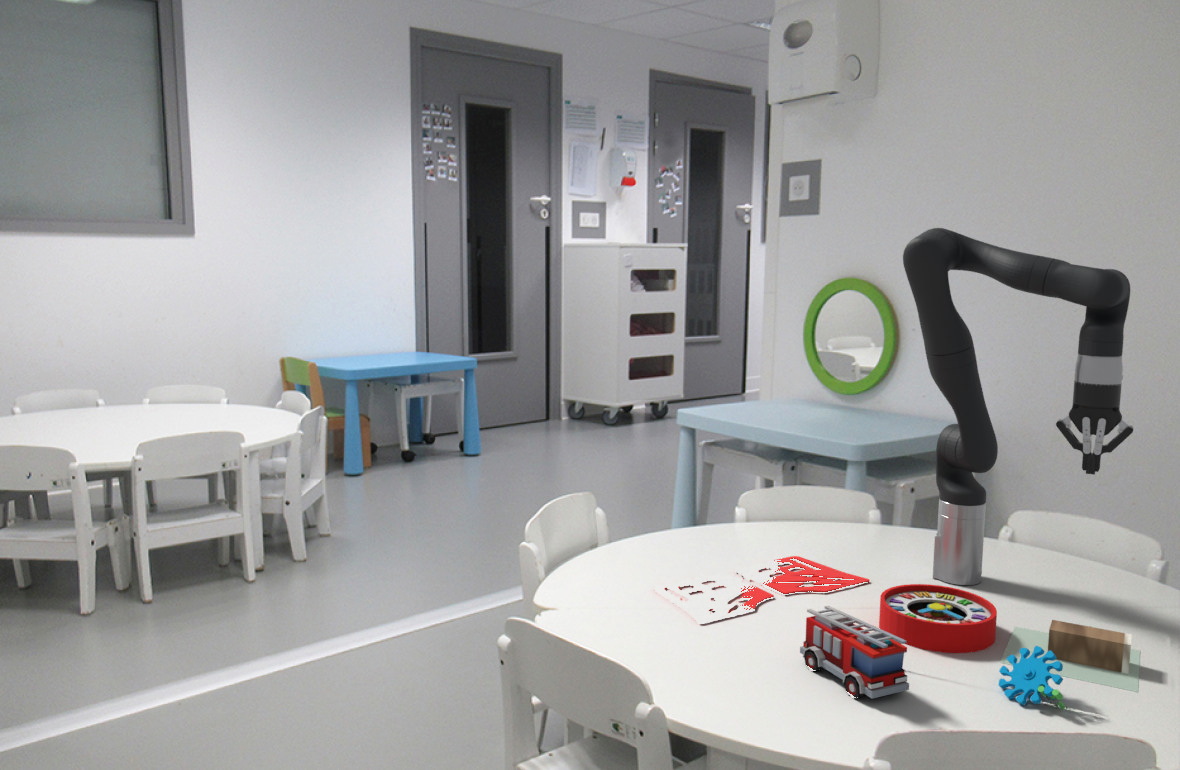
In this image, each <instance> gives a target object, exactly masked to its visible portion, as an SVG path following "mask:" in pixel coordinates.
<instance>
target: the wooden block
mask: <svg viewBox="0 0 1180 770" xmlns="http://www.w3.org/2000/svg"><path fill="white" fill-rule="evenodd" d="M1048 630H1049V631H1048V633H1049V640H1048V651H1050V650H1051V651H1052V652H1053V653H1054V654H1055V656H1056V659H1058V660H1063V661H1068V662H1072V663H1077V664H1082V665H1087V666H1092V667H1097V668H1101V669H1106V670H1111V671H1116V672H1121V673H1126V674H1129V662H1130V651H1131V649H1132V637H1133V634H1130V633H1125V632H1121V631H1115V630H1109V629H1104V628H1098V627H1094V626H1090V625H1089V626H1088V625H1083V624H1077V623H1072V622H1067V621H1061V620H1056V619H1051V623H1050V626H1049V629H1048Z"/></svg>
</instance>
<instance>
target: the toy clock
mask: <svg viewBox="0 0 1180 770" xmlns="http://www.w3.org/2000/svg"><path fill="white" fill-rule="evenodd" d="M997 613H998V611H997V608H996V606H995V605H994V604H993V603H992V602H991V601H989V600H988V599H986V598H984V597H982V596H980V595H978V594H976V593H973V592H970V591H967V590H963V589H959V588H956V587H951V586H946V585H945V586H943V585H939V584H937V585H936V584H925V583H914V584H913V583H910V584H901V585H896V586H895V585H894V586H892V587H889V588H887V589H885V590H883V592H881V594H880V599H879V619H878V620H879V621H878V623H879V624H878V628H880V629H881V630H884V631H886V632H888V633H890V634H892V635H895V636H897V637H899V638H901V639H904V640H906V643H905V644H904V645H905V646H906V645H907V646H910V647H912V648H913V647H914V648H916V649H921V650H926V651H929V652H937V653H943V654H944V653H945V654H969V653H976V652H980V651H984V650H986V649H988V648H990V647H992V646H993V645H994V643H995V641H996V636H997V635H996V633H997V631H996V630H997V615H998V614H997ZM894 641H895V640H894ZM896 642H897V641H896ZM898 643H899V642H898ZM900 644H901V643H900Z"/></svg>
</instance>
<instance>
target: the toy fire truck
mask: <svg viewBox="0 0 1180 770" xmlns="http://www.w3.org/2000/svg"><path fill="white" fill-rule="evenodd" d="M806 613H809V614H810V615H813V616H807V617H806V619H805V622H806V623H805V640H804V641H803V646H800V647H799V653H800V654H802V658H804V663H805V666H806V665H807V666H809V667H810V668H812V669H813V670H819V669H820V670H821V669H822V668H823V669H824V670H827V671H828V672H830V674H833V675H834V676H835V677H837V678H839V679H840V680H842V684H844V690H845V692H846V691H847V692H849V693H850V694H852V695H853V696H854V697H856V698H857V697H861V698H862V697H863V696H864V695H866V696H867V697H869V698H870V699H877V698H880V697H884V696H888V695H892V694H896V693H901V692H905V691H909V690H910V683H909V682H908V675H907V674H906V671H905V669H904V668H903V665H904V658H905V657H904V656H905V654H906V653H907V652H908V647H907V646H906V644H905V643H906V640H904V639H901V638H899V637H897V636H895V635H892V634H890V633H888V632H886V631H884V630H881V629H879V627H877V626H875V625H872V624H870V623H868V622H865V621H864V620H861V619H859V618H857V617H854V616H852V615H850V614H848V613H846V612H844V611H841V610H839V609H837V608H835V607H832V606H830V605H825V606H824V608H823V609H822V610H815V609H812V608H809V609H806ZM863 627H864V628H863ZM894 640H895V641H894ZM896 641H897V642H896ZM898 642H899V643H898ZM900 643H901V644H900ZM807 666H806V667H807ZM820 670H819V671H820ZM847 692H846V693H847ZM857 699H858V698H857Z"/></svg>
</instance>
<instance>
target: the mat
mask: <svg viewBox="0 0 1180 770" xmlns="http://www.w3.org/2000/svg"><path fill="white" fill-rule="evenodd" d="M1010 634H1011V635H1010V637H1009V639H1008V642H1007V645H1006V646H1005V649H1004V652H1003V655H1002V658H1001V659H1000V662H999V663H1000V664H1003V665H1009V666H1012V667H1013V665H1012V664H1011V663H1010V662H1009V661H1008V660H1007V657H1008V656H1010V655H1014V656H1015V657H1016V658H1017V663H1019V661H1020V659H1021V654H1020V648H1027V649H1028V650H1029V651H1030V654H1029V656H1028V657H1027V658H1029V657H1030V656H1031V655H1032V653H1033V651H1034V647H1035V646H1039V647H1041V648H1042V649H1043V650H1044V651H1045V652H1044V654H1043V655H1040V656H1038V657H1037V658H1040V657H1042V656H1044V655H1045V654H1046V653H1047V652H1048V640H1049V632H1045V631H1040V630H1036V629H1030V628H1025V627H1019V626H1014V627H1013V629H1012V632H1011V633H1010ZM1027 658H1026V659H1027ZM1140 660H1141V650H1138V649H1133V648H1131V651H1130V662H1129V674H1126V673H1121V672H1116V671H1111V670H1106V669H1101V668H1097V667H1092V666H1087V665H1082V664H1077V663H1072V662H1068V661H1063V660H1058V659H1055V660H1054V661H1051V660H1048V661H1046V662H1045V663H1054V662H1056V661H1060V662H1061V663H1062V664H1063V669H1062V671H1057V670H1055V669H1051V670H1050V671H1049V672H1050V673H1051V674H1058V675H1060V676H1061V677H1065V678H1069V679H1074V680H1079V681H1083V682H1088V683H1092V684H1096V685H1101V686H1107V687H1111V688H1116V689H1121V690H1126V691H1130V692H1135V693H1139V682H1140V681H1139V679H1140V662H1141V661H1140Z"/></svg>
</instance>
